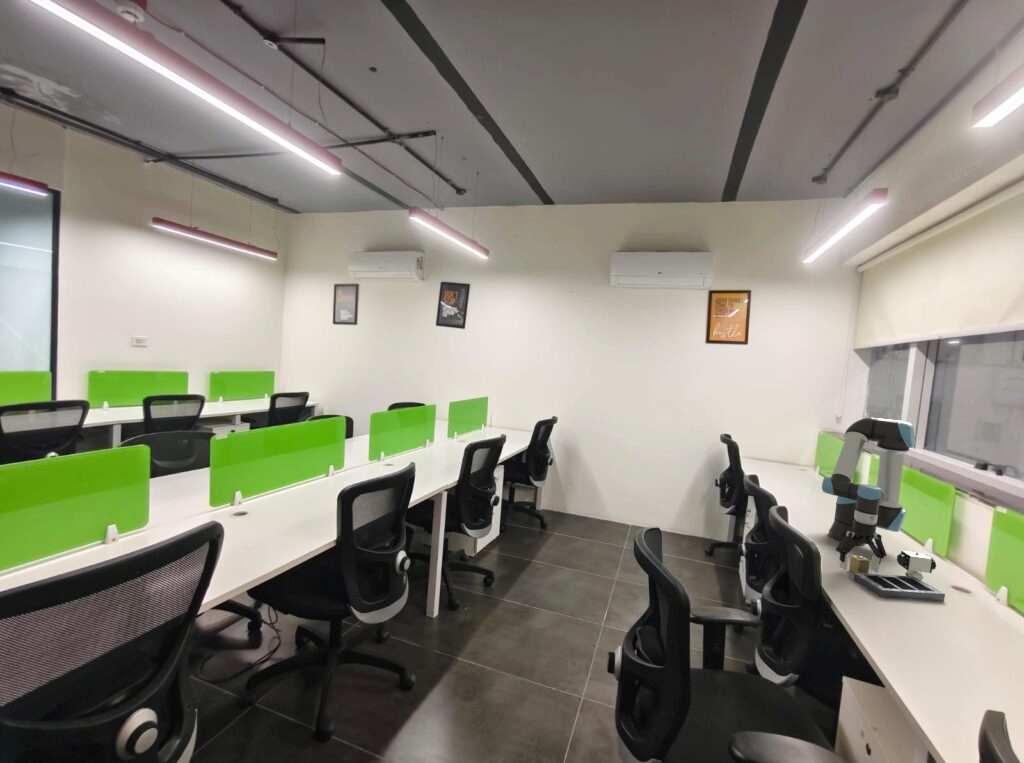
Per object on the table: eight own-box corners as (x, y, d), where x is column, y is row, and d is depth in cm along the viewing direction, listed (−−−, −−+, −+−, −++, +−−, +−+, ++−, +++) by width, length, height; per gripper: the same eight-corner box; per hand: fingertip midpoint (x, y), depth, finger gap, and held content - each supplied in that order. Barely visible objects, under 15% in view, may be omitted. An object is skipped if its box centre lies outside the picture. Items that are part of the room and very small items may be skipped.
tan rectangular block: (849, 570, 188) (851, 553, 188) (859, 571, 188) (861, 554, 188) (857, 576, 184) (859, 558, 183) (867, 576, 184) (870, 559, 183)
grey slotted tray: (853, 579, 180) (854, 572, 180) (912, 583, 180) (913, 576, 180) (880, 597, 167) (881, 589, 167) (944, 601, 167) (945, 593, 167)
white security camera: (933, 584, 181) (937, 556, 180) (901, 580, 183) (905, 552, 182) (924, 578, 186) (927, 551, 185) (892, 573, 188) (896, 546, 188)
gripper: (843, 522, 181) (836, 572, 182) (901, 527, 181) (895, 576, 182) (829, 516, 188) (823, 563, 189) (886, 520, 188) (879, 567, 190)
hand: (858, 570), depth 186 cm, fingers open, 13 cm apart
